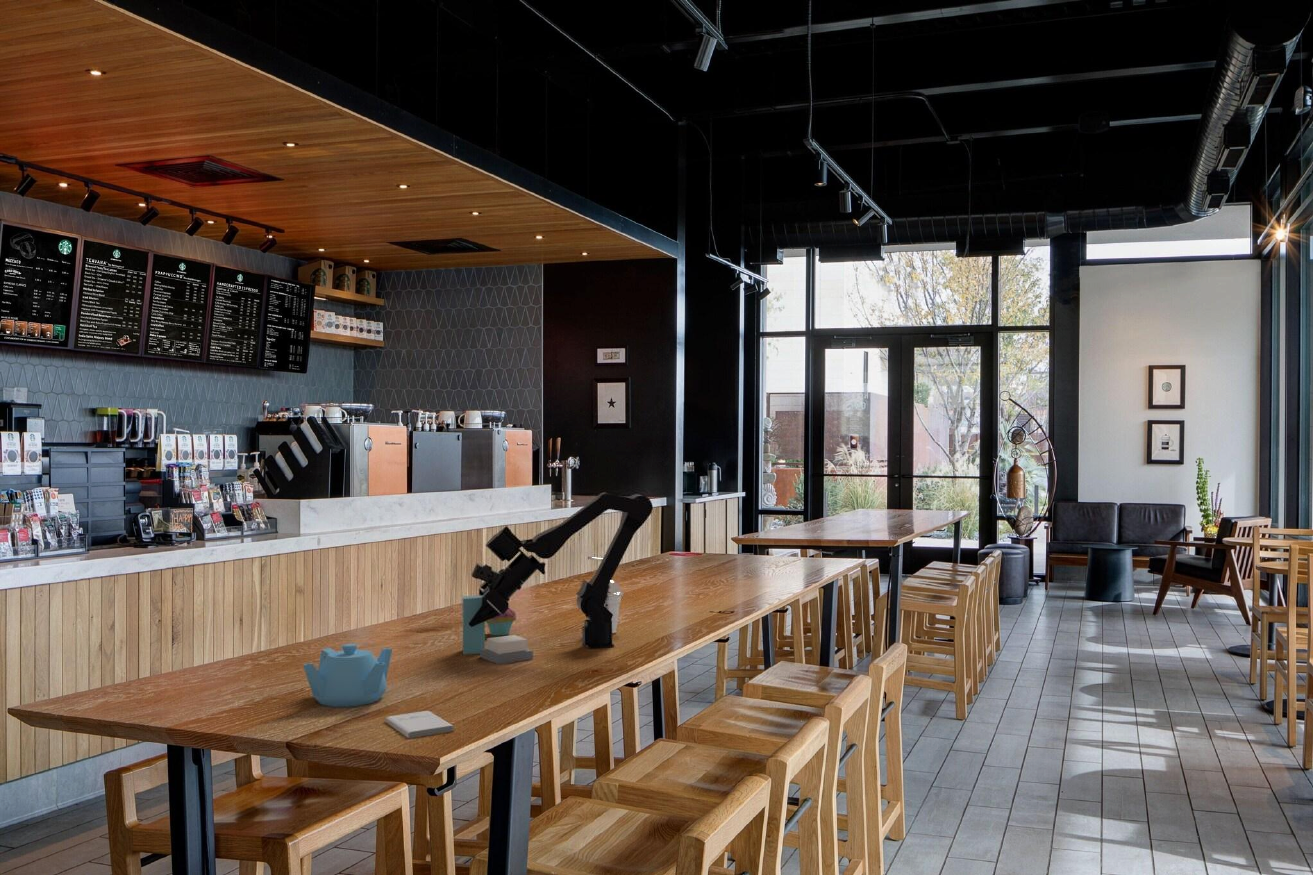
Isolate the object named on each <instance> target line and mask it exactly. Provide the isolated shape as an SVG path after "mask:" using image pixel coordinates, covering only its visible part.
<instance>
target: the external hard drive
mask: <svg viewBox="0 0 1313 875" xmlns="http://www.w3.org/2000/svg"><path fill="white" fill-rule="evenodd" d="M385 723H387V724H388V725H389V726H391V727H392V728H393V729H394V730H396V731H398V732H399V733H401V734H402V735H403V736H405V737H406V738H407V739H413V738H420V737H425V736H430V735H431V736H432V735H439V734H444V733H445V734H446V733H450V732H455V726H454V725H453V724H451V723H449V722H447V721H446V720H444V719H443V718H441V717H440V716H438V715H436V714H434V713H433V712H432V711H429V710H424V711H423V710H422V711H416V712H409V713H403V714H396V715H390V716H387V717H385Z"/></svg>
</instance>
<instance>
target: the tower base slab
mask: <svg viewBox="0 0 1313 875" xmlns="http://www.w3.org/2000/svg"><path fill="white" fill-rule="evenodd" d="M533 652H534V650H531V649H529V648H527V650H526V651H519V652H511V653H504V654H497V653H495V652H493V651H490V650H488V649H487V647H485V649H480V653H479V654H480V656H479V657H480V658H481V659H483V660H486V661H489V662H492V663H494V664H496V665H497V664H498V665H499V664H508V663H513V662H520V661H528V660H530V661H531V660H533V659H534V655H533V654H534V653H533Z"/></svg>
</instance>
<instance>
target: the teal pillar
mask: <svg viewBox="0 0 1313 875" xmlns="http://www.w3.org/2000/svg"><path fill="white" fill-rule="evenodd" d="M482 596H483V595H480V596H479V595H462V596H461V597H462V610H461V611H462V654H463V655H474V654H475V655H477V654H478V655H479V654H480V649H486V640H485V639H486V631H485V630H486V624H485V623H486V622H482V623H480V624H478V625H475V626H473V627H471V626H470V625H469V622H470V621H471V619H472V618H473V616H474V615H475V614H476V612H477V611H478V609H479V608H480V606H481V605H482ZM483 597H484V596H483Z"/></svg>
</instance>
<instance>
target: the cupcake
mask: <svg viewBox="0 0 1313 875" xmlns="http://www.w3.org/2000/svg"><path fill="white" fill-rule="evenodd" d="M499 612H500V611H499ZM500 613H501V612H500ZM516 620H517V614H516V612H515V611H514V610H513V609H511V608H510V607H509V609H508V610H507V611H506V612H505V613H504V614H502V613H501V615H500V616H497V617H494V618H492V619H489V620H487V621H485V623H486V624H487V627H488V630H489V633H490V635H491V636H495V637H502V636H509V634H510V631H511V628H512V625H513V622H514V621H516Z"/></svg>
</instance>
